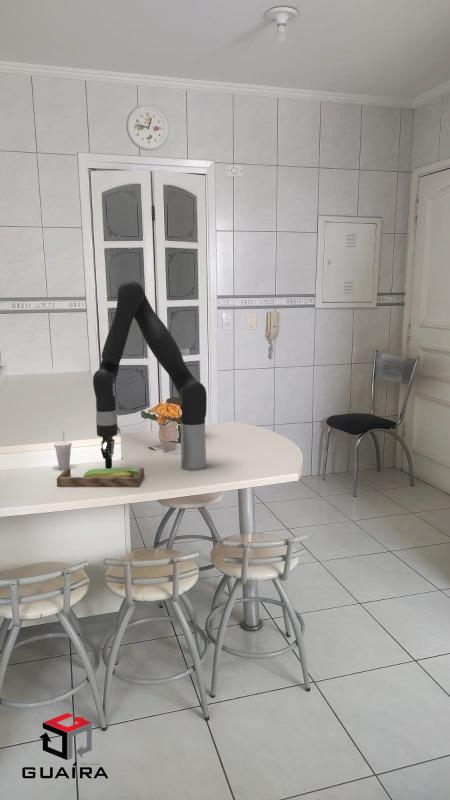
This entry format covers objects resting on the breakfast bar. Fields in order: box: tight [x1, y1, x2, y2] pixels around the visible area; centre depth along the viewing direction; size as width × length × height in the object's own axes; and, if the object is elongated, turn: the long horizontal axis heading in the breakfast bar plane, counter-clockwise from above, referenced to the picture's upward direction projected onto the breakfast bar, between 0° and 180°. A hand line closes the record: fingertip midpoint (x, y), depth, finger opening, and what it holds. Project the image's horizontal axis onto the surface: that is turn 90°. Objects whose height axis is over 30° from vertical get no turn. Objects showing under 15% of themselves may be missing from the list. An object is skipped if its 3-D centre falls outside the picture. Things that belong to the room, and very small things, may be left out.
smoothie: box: [53, 431, 73, 470], centre depth 211 cm, size 6×6×14 cm
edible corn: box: [82, 466, 139, 477], centre depth 197 cm, size 5×20×5 cm
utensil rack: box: [56, 467, 145, 488], centre depth 196 cm, size 28×12×3 cm, turn 89°
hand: (108, 467), depth 207 cm, fingers closed
